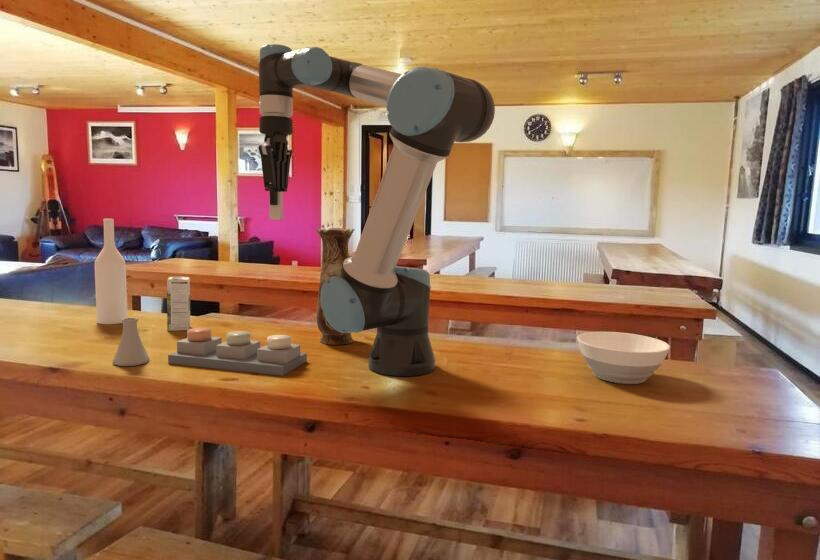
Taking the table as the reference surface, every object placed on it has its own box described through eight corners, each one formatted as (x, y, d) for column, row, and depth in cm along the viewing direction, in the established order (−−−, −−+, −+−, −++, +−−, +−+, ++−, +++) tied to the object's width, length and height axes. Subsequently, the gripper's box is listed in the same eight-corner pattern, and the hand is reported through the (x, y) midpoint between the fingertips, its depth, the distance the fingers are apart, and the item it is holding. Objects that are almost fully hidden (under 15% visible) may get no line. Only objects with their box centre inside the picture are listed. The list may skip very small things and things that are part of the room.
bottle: (123, 318, 178) (120, 218, 174) (131, 322, 172) (127, 219, 168) (93, 320, 173) (89, 218, 169) (100, 325, 167) (96, 219, 163)
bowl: (672, 374, 135) (675, 339, 134) (659, 397, 119) (663, 357, 118) (586, 360, 145) (588, 327, 144) (564, 380, 129) (566, 343, 127)
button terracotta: (215, 346, 138) (215, 328, 138) (203, 351, 133) (202, 333, 133) (196, 344, 140) (196, 326, 139) (182, 349, 135) (182, 331, 134)
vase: (339, 348, 150) (340, 230, 146) (307, 341, 156) (307, 227, 152) (363, 340, 159) (365, 228, 155) (332, 334, 165) (333, 226, 161)
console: (306, 361, 137) (306, 342, 136) (283, 375, 125) (283, 355, 125) (199, 350, 144) (199, 332, 143) (168, 363, 132) (167, 343, 131)
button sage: (254, 350, 136) (254, 332, 135) (243, 355, 131) (242, 337, 130) (234, 348, 137) (234, 330, 137) (222, 353, 132) (221, 335, 132)
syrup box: (168, 327, 168) (167, 276, 166) (191, 326, 170) (190, 276, 168) (167, 331, 163) (165, 279, 161) (190, 330, 165) (188, 279, 163)
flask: (135, 368, 128) (133, 323, 126) (105, 365, 129) (103, 320, 128) (155, 359, 135) (154, 316, 133) (127, 357, 136) (126, 314, 135)
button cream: (294, 354, 134) (294, 335, 133) (284, 359, 129) (284, 341, 128) (273, 352, 135) (273, 333, 134) (262, 357, 130) (262, 339, 129)
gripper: (273, 120, 144) (274, 218, 147) (247, 112, 131) (248, 219, 134) (302, 120, 142) (302, 219, 145) (278, 112, 129) (278, 220, 132)
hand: (276, 219), depth 140 cm, fingers closed
